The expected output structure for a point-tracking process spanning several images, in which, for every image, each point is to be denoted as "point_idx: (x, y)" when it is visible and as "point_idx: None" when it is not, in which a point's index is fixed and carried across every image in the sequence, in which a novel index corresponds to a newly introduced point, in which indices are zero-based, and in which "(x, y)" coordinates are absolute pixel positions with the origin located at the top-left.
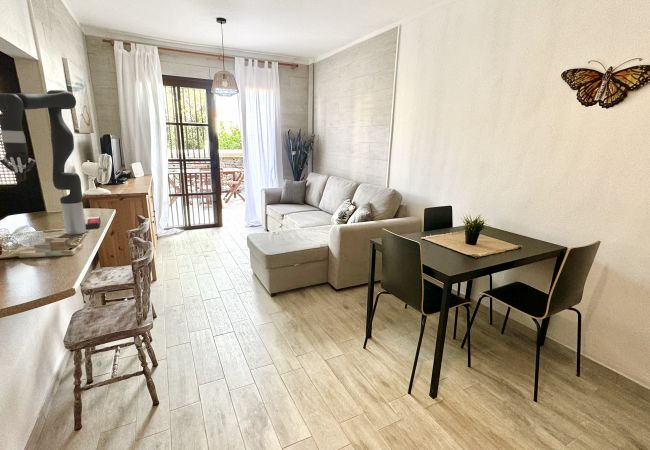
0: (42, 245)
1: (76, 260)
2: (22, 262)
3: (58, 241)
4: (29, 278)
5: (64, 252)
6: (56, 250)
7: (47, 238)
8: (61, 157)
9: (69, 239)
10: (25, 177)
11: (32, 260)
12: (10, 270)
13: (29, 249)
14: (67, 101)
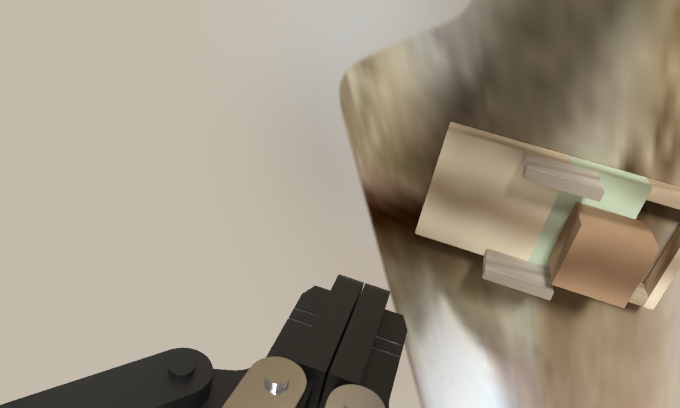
0: (519, 287)
1: (650, 374)
2: (443, 292)
3: (597, 292)
4: None
5: None
6: None
7: (536, 174)
8: None
9: (657, 245)
10: (394, 348)
11: (476, 286)
12: (421, 359)
13: (450, 190)
14: None
